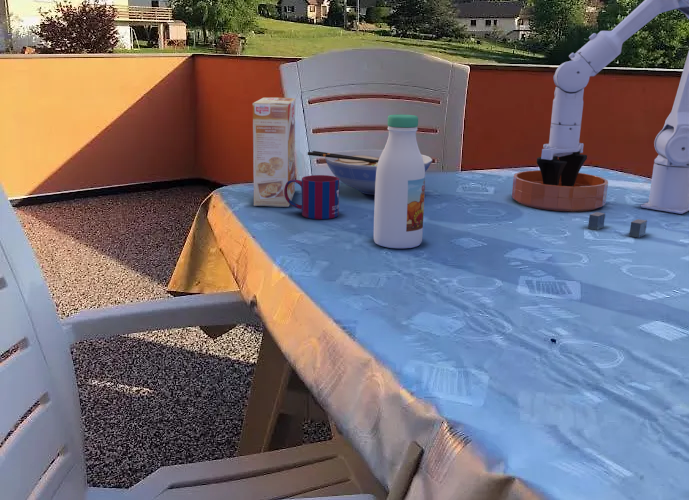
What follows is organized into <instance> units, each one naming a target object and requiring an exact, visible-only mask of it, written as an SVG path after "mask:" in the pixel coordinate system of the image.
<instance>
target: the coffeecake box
mask: <svg viewBox="0 0 689 500" xmlns="http://www.w3.org/2000/svg"><path fill="white" fill-rule="evenodd" d="M252 143H253V144H252V147H253V148H252V149H253V157H252V159H253V160H252V161H253V162H252V163H253V167H252V168H253V170H252V171H253V206H254V207H274V208H275V207H278V208H283V207H284V208H289V207H290V206H291V205H290V204H289V203H288V202H287V200H286V198H285V195H284V188H285V185H286V183H287V182H288V181H289V180H296V172H295V171H296V98H294V97H262V98H260V99H258V100H256V101H254V102H252ZM295 192H296V183H295V182H291V183H290V184H289V185H288V188H287V194H288V197H289V199H290V200H291V201H292V200H293V198H294V195H295Z"/></svg>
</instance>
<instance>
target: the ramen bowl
mask: <svg viewBox="0 0 689 500" xmlns="http://www.w3.org/2000/svg"><path fill="white" fill-rule="evenodd" d="M383 150H384V149H348V150H341V151H333V152H326V151H318V150H312V151H307V156H312V157H321V158H322V157H324V160H325V162H326V164H327V166H328V168H329V169H330V171H331V173H332V174H333V176H335V177H338V178H339V182H341V183H342V184H344V185H347V186H348V187H351V188H353V189H355V190H358V192H360V193H361V194H366V195H373V196H375V182H376V170H377V165H378V161H379V158H380V156H381V154H382V152H383ZM421 155H422V158H423V162H424V166H425V173H426V172H427V171H428V169H429V168H430V166H431V164H432V162H433V158H431V157H430V156H428V155H425V154H422V153H421Z"/></svg>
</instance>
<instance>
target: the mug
mask: <svg viewBox="0 0 689 500" xmlns="http://www.w3.org/2000/svg"><path fill="white" fill-rule="evenodd" d="M291 182H295V184H298V185H299V186H300V187H301V204H297V203H295V202H294V201H292V200H290V199H289V197H288V194H287V188H288V185H289V184H290V183H291ZM284 195H285V198H286V200H287V202H288V203H289V204H290V205H289V206H292V207H294V208H296V209H299V210H301V216H302V217H303V218H307V219H312V220H330V219H335V218H337V217H339V213H340V211H339V210H340V208H339V207H340V180H339V178H338V177H335V175H326V174H313V175H305V176H303V177H302V178H301V180H298V179H295V180H289V181H288V182H287V183H286V185H285V188H284Z"/></svg>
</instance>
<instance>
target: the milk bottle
mask: <svg viewBox="0 0 689 500" xmlns="http://www.w3.org/2000/svg"><path fill="white" fill-rule="evenodd" d="M418 126H419V116H417V115H414V114H390V115H388V116H387V128H386V129H387V130H388V136H387V140H386V143H385V146H384V148H383V149H382V150H383V152H382V154H381V156H380V158H379V161H378V165H377V170H376V182H375V195H374V207H373V208H374V210H373V241H374V243H375V244H377V245H378V246H381V247H385V248H388V249H389V248H390V249H411V248H416V247H418V246H420V245H421V244H422V242H423V232H424V216H425V215H424V214H425V213H424V212H425V193H426V172H425V166H424V162H423V158H422V155H423V154H422V153H421V151H420V150H421V149H420V148H419V145H418V140H417V131H418V130H419V128H418ZM421 154H422V155H421Z"/></svg>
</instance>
